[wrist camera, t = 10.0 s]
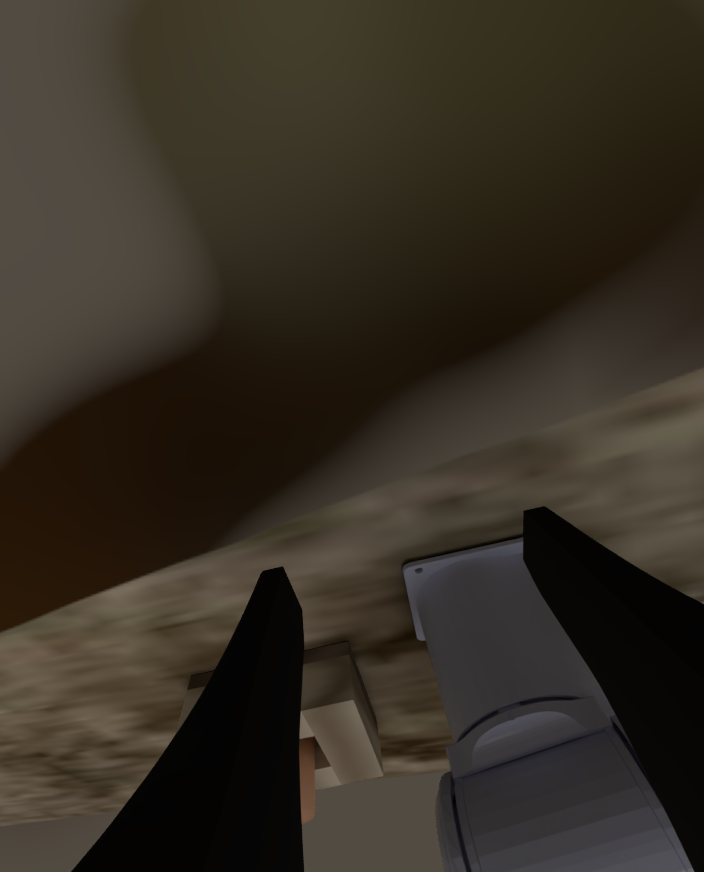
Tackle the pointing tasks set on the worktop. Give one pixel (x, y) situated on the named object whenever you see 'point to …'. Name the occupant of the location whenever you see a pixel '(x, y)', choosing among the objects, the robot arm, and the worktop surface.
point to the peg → (307, 777)
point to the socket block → (328, 716)
